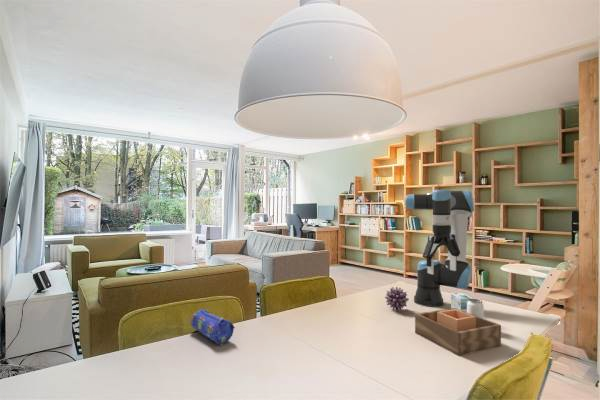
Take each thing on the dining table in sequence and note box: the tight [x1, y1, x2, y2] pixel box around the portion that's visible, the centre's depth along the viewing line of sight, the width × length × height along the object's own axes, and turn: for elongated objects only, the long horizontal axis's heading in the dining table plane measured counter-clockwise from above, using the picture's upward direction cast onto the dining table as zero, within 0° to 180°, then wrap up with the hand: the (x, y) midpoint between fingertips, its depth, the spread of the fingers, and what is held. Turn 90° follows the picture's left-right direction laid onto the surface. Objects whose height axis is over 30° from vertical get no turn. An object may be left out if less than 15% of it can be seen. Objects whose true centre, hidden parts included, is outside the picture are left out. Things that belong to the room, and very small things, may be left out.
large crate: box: [414, 308, 502, 357], centre depth 130 cm, size 22×22×8 cm
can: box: [467, 298, 485, 319], centre depth 142 cm, size 6×6×12 cm
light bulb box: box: [450, 292, 474, 313], centre depth 154 cm, size 11×7×11 cm, turn 179°
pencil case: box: [190, 308, 236, 346], centre depth 131 cm, size 22×9×10 cm, turn 44°
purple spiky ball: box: [384, 286, 410, 311], centre depth 166 cm, size 12×12×12 cm
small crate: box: [437, 309, 476, 332], centre depth 130 cm, size 10×10×9 cm
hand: (442, 272), depth 143 cm, fingers open, 13 cm apart
